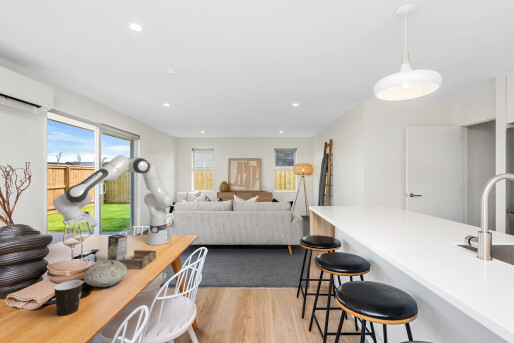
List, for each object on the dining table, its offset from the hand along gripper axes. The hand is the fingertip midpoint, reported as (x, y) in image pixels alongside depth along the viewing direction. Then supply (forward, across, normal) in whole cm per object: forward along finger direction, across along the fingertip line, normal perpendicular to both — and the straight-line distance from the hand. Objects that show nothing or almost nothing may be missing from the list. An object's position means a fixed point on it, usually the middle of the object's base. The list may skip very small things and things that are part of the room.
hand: (91, 234), depth 147 cm
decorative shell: (+31, -28, -7) cm, 43 cm away
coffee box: (+23, 0, +1) cm, 23 cm away
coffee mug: (+32, -54, -8) cm, 63 cm away
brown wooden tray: (+31, 0, -6) cm, 31 cm away
